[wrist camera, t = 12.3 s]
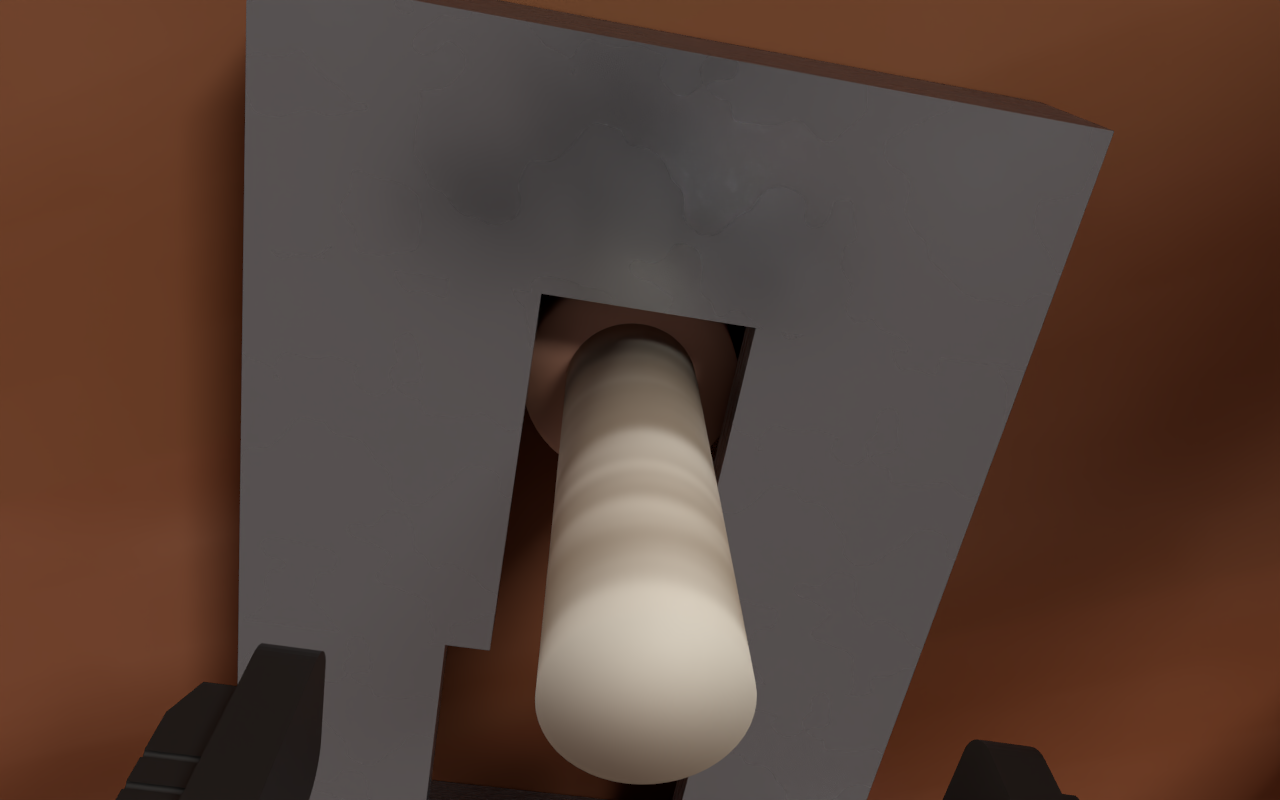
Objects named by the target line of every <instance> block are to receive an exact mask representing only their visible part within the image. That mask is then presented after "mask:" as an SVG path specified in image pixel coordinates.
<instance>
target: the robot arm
mask: <svg viewBox="0 0 1280 800" xmlns="http://www.w3.org/2000/svg"><path fill="white" fill-rule="evenodd" d="M325 669H326V656H325V652H324V651H319V650H311V649H304V648H296V647H289V646H281V645H273V644H266V643H261V644H260V645H258V647H257V648H256V650H255V651H254V653H253V655H252V657H251V659H250V661H249V663H248V665H247V667H246V669H245V671H244V673H243V675H242V677H241V679H240V681H239V683H238V685H237V686H231V685H224V684H216V683H208V682H203V683H202V684H200V685H199V686H198V687H197V688H195V689H194V690H193V691H192V692H190V693H189V694H188V695H187V696H185V697H184V698H183V699H182V700H180V701H179V702H178V703H177V704H176V705H174V706H173V707H172V708H171V709H169V710H168V711H167V712H166V713H165V715H164V717H163V719H162V720H161V722H160V724H159V725H158V727H157V729H156V731H155V732H154V734H153V736H152V738H151V739H150V741H149V743H148V745H147V746H146V748H145V751H144V755H143V757H140V758H139V760H138V762H137V764H136V765H135V767H134V769H133V771H132V772H131V774H130V776H129V778H128V779H127V782H126V786H125V788H124V789H122V790H121V791H120V793H119V795H118V797H117V798H116V800H309V799H310V796H311V792H312V789H313V785H314V781H315V777H316V772H317V767H318V762H319V756H320V748H321V735H322V718H323V702H324V685H325ZM943 800H1079V799H1078V798H1077V797H1076V796H1074V795H1066V794H1062V793H1061V791H1060V789H1059V787H1058V785H1057V783H1056V781H1055V779H1054V777H1053V775H1052V773H1051V771H1050V769H1049V767H1048V765H1047V763H1046V761H1045V759H1044V758H1043V756H1042V754H1041V753H1040V752H1039V751H1038V750H1037V749H1035V748H1033V747H1030V746H1022V745H1014V744H1007V743H999V742H992V741H984V740H973V741H971V742H970V743H969V744H968V745H967V746H966V748H965V750H964V752H963V754H962V757H961V759H960V761H959V764H958V766H957V768H956V771H955V773H954V775H953V777H952V780H951V782H950V784H949V787H948V789H947V791H946V794H945V796H944V798H943Z"/></svg>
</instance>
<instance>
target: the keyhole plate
mask: <svg viewBox="0 0 1280 800" xmlns="http://www.w3.org/2000/svg"><path fill="white" fill-rule="evenodd" d="M1113 133H1114V131H1112V130H1110V129H1107V128H1105V127H1102V126H1100V125H1097V124H1095V123H1092V122H1090V121H1087V120H1084V119H1082V118H1079V117H1077V116H1074V115H1072V114H1069V113H1067V112H1064V111H1062V110H1059V109H1056V108H1054V107H1051V106H1049V105H1046V104H1044V103H1041V102H1035V101H1030V100H1025V99H1019V98H1014V97H1009V96H1004V95H998V94H993V93H988V92H982V91H977V90H972V89H966V88H961V87H956V86H951V85H945V84H940V83H935V82H929V81H924V80H919V79H913V78H908V77H903V76H897V75H892V74H887V73H882V72H876V71H871V70H866V69H860V68H855V67H850V66H844V65H839V64H834V63H828V62H823V61H818V60H813V59H807V58H802V57H797V56H791V55H786V54H781V53H775V52H770V51H765V50H760V49H754V48H749V47H744V46H738V45H733V44H728V43H722V42H717V41H712V40H706V39H701V38H696V37H691V36H685V35H680V34H675V33H669V32H664V31H659V30H653V29H648V28H643V27H637V26H632V25H627V24H622V23H616V22H611V21H606V20H600V19H595V18H590V17H584V16H579V15H574V14H569V13H563V12H558V11H553V10H547V9H542V8H537V7H531V6H526V5H521V4H515V3H510V2H505V1H500V0H247V7H246V84H245V160H244V237H243V314H242V391H241V467H240V544H239V621H238V683H239V681H240V679H241V677H242V675H243V673H244V671H245V669H246V667H247V665H248V663H249V661H250V659H251V657H252V655H253V653H254V651H255V650H256V648H257V647H258V645H260V644H261V643H266V644H273V645H281V646H289V647H296V648H304V649H311V650H319V651H324V652H325V656H326V669H325V685H324V702H323V718H322V735H321V748H320V756H319V762H318V767H317V772H316V777H315V781H314V785H313V789H312V792H311V796H310V799H309V800H606V799H597V798H587V797H578V796H569V795H560V794H551V793H542V792H533V791H524V790H515V789H506V788H497V787H488V786H479V785H470V784H461V783H452V782H443V781H434V780H431V779H432V771H433V763H434V755H435V747H436V738H437V730H438V722H439V714H440V706H441V698H442V689H443V681H444V673H445V665H446V657H447V649H448V645H449V646H457V647H466V648H474V649H482V650H490V645H491V639H492V633H493V627H494V621H495V614H496V607H497V600H498V593H499V586H500V579H501V573H502V566H503V559H504V552H505V545H506V538H507V531H508V524H509V517H510V510H511V503H512V497H513V490H514V483H515V476H516V469H517V462H518V455H519V448H520V441H521V434H522V428H523V421H524V414H525V407H526V400H527V393H528V386H529V379H530V372H531V365H532V359H533V352H534V345H535V338H536V331H537V324H538V317H539V310H540V303H541V296H542V294H547V295H553V296H559V297H565V298H572V299H578V300H584V301H590V302H597V303H603V304H609V305H615V306H622V307H628V308H634V309H640V310H647V311H653V312H659V313H665V314H672V315H678V316H684V317H690V318H697V319H703V320H709V321H715V322H722V323H728V324H734V325H740V326H746V329H745V333H744V337H743V341H742V345H741V350H740V354H739V358H738V362H737V366H736V371H735V375H734V379H733V383H732V387H731V392H730V396H729V400H728V404H727V408H726V413H725V417H724V421H723V425H722V429H721V434H720V438H719V442H718V446H717V450H716V455H715V459H714V463H713V466H714V471H715V476H716V482H717V487H718V492H719V497H720V502H721V507H722V512H723V518H724V523H725V528H726V533H727V538H728V543H729V548H730V554H731V559H732V564H733V569H734V574H735V579H736V584H737V590H738V595H739V600H740V605H741V610H742V615H743V620H744V626H745V631H746V636H747V641H748V646H749V651H750V656H751V662H752V667H753V672H754V677H755V683H756V690H757V701H756V708H755V713H754V717H753V719H752V722H751V725H750V727H749V728H748V730H747V732H746V734H745V736H744V737H743V738H742V740H741V741H740V742H739V744H738V745H737V746H736V747H735V748H734V749H733V750H732V751H731V752H730V753H729V754H728V755H727V756H725V757H724V758H723V759H722V760H720V761H719V762H718V763H716V764H714V765H713V766H711V767H709V768H708V769H706V770H704V771H701V772H699V773H697V774H695V775H692V776H689V777H686V778H684V779H680V780H677V784H676V787H675V791H674V795H673V799H672V800H867V797H868V794H869V792H870V789H871V786H872V783H873V781H874V778H875V775H876V773H877V770H878V767H879V765H880V762H881V759H882V756H883V754H884V751H885V748H886V746H887V743H888V740H889V738H890V735H891V732H892V729H893V727H894V724H895V721H896V719H897V716H898V713H899V711H900V708H901V705H902V703H903V700H904V697H905V694H906V692H907V689H908V686H909V684H910V681H911V678H912V676H913V673H914V670H915V667H916V665H917V662H918V659H919V657H920V654H921V651H922V649H923V646H924V643H925V640H926V638H927V635H928V632H929V630H930V627H931V624H932V622H933V619H934V616H935V613H936V611H937V608H938V605H939V603H940V600H941V597H942V595H943V592H944V589H945V586H946V584H947V581H948V578H949V576H950V573H951V570H952V568H953V565H954V562H955V559H956V557H957V554H958V551H959V549H960V546H961V543H962V541H963V538H964V535H965V532H966V530H967V527H968V524H969V522H970V519H971V516H972V514H973V511H974V508H975V505H976V503H977V500H978V497H979V495H980V492H981V489H982V487H983V484H984V481H985V478H986V476H987V473H988V470H989V468H990V465H991V462H992V460H993V457H994V454H995V451H996V449H997V446H998V443H999V441H1000V438H1001V435H1002V433H1003V430H1004V427H1005V424H1006V422H1007V419H1008V416H1009V414H1010V411H1011V408H1012V406H1013V403H1014V400H1015V397H1016V395H1017V392H1018V389H1019V387H1020V384H1021V381H1022V379H1023V376H1024V373H1025V371H1026V368H1027V365H1028V362H1029V360H1030V357H1031V354H1032V352H1033V349H1034V346H1035V344H1036V341H1037V338H1038V335H1039V333H1040V330H1041V327H1042V325H1043V322H1044V319H1045V317H1046V314H1047V311H1048V308H1049V306H1050V303H1051V300H1052V298H1053V295H1054V292H1055V290H1056V287H1057V284H1058V281H1059V279H1060V276H1061V273H1062V271H1063V268H1064V265H1065V263H1066V260H1067V257H1068V254H1069V252H1070V249H1071V246H1072V244H1073V241H1074V238H1075V236H1076V233H1077V230H1078V227H1079V225H1080V222H1081V219H1082V217H1083V214H1084V211H1085V209H1086V206H1087V203H1088V200H1089V198H1090V195H1091V192H1092V190H1093V187H1094V184H1095V182H1096V179H1097V176H1098V173H1099V171H1100V168H1101V165H1102V163H1103V160H1104V157H1105V155H1106V152H1107V149H1108V146H1109V144H1110V141H1111V138H1112V136H1113Z"/></svg>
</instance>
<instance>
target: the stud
mask: <svg viewBox="0 0 1280 800" xmlns="http://www.w3.org/2000/svg"><path fill="white" fill-rule="evenodd" d="M737 362H738V361H737V357H736V353H735V349H734V346H733V343H732V339H731V336H730V333H729V329H728V326H727V324H726V323H722V322H715V321H709V320H703V319H697V318H690V317H684V316H678V315H672V314H665V313H659V312H653V311H647V310H640V309H634V308H628V307H622V306H615V305H609V304H603V303H597V302H590V301H584V300H578V299H572V298H565V297H559V296H553V295H551V296H550V297H549V298H548V299H547V301H546V302H545V303H544V305H543V306H542V307H541V309H540V311H539V317H538V324H537V331H536V338H535V345H534V352H533V359H532V365H531V372H530V379H529V386H528V393H527V400H526V408H527V410H528V413H529V416H530V418H531V420H532V422H533V424H534V426H535V428H536V429H537V431H538V432H539V434H540V435H541V436H542V438H543V439H544V441H545V442H546V443H547V444H548V445H549V446H550V447H551V448H552V449H553V450H554V451H555V452H557V453H558V454H559V458H558V468H557V479H556V489H555V499H554V509H553V519H552V530H551V540H550V550H549V560H548V570H547V581H546V591H545V601H544V611H543V622H542V632H541V642H540V652H539V662H538V673H537V683H536V694H535V707H536V714H537V718H538V722H539V724H540V727H541V729H542V731H543V733H544V735H545V737H546V738H547V740H548V741H549V743H550V744H551V745H552V746H553V748H554V749H555V750H556V751H557V752H558V753H559V754H560V755H561V756H562V757H564V758H565V759H566V760H567V761H569V762H570V763H571V764H573V765H574V766H576V767H577V768H579V769H581V770H583V771H585V772H587V773H589V774H592V775H594V776H597V777H600V778H603V779H607V780H610V781H614V782H620V783H626V784H659V783H666V782H671V781H676V780H680V779H684V778H686V777H689V776H692V775H695V774H697V773H699V772H701V771H704V770H706V769H708V768H709V767H711V766H713V765H714V764H716V763H718V762H719V761H720V760H722V759H723V758H724V757H725V756H727V755H728V754H729V753H730V752H731V751H732V750H733V749H734V748H735V747H736V746H737V745H738V744H739V742H740V741H741V740H742V738H743V737H744V736H745V734H746V732H747V730H748V728H749V727H750V725H751V722H752V719H753V717H754V713H755V708H756V701H757V690H756V683H755V677H754V672H753V667H752V662H751V656H750V651H749V646H748V641H747V636H746V631H745V626H744V620H743V615H742V610H741V605H740V600H739V595H738V590H737V584H736V579H735V574H734V569H733V564H732V559H731V554H730V548H729V543H728V538H727V533H726V528H725V523H724V518H723V512H722V507H721V502H720V497H719V492H718V487H717V482H716V476H715V471H714V466H713V461H712V456H711V451H710V447H711V446H712V445H713V443H714V442H715V441H716V440H717V439H718V437H719V436H720V434H721V429H722V425H723V421H724V417H725V413H726V408H727V404H728V400H729V396H730V392H731V387H732V383H733V379H734V375H735V371H736V366H737Z"/></svg>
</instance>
